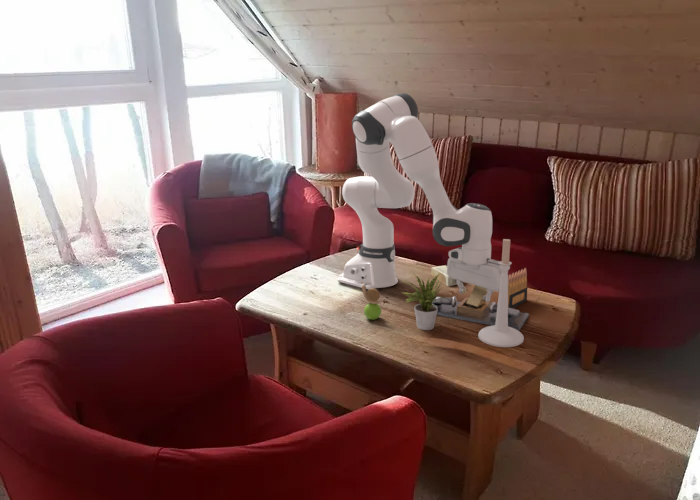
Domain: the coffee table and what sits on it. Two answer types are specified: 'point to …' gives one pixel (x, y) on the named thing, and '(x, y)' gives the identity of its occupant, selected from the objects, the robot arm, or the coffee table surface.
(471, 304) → the pale yellow block
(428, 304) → the house plant
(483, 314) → the coupler station
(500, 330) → the candlestick
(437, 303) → the shaft left
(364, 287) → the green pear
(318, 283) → the coffee table surface
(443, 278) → the skincare box
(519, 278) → the ammunition clip
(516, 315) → the shaft right
